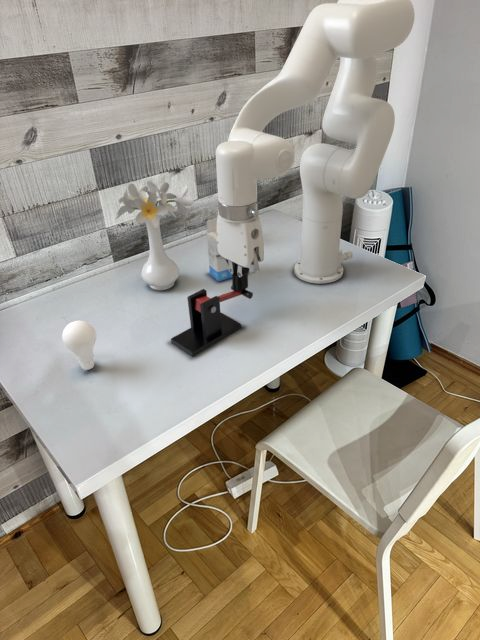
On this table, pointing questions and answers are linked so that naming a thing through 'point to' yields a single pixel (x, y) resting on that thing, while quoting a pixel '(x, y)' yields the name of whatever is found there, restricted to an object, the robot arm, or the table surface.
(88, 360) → the lightbulb
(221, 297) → the red lever handle
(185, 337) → the black lever base
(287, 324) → the table surface
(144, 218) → the flower vase
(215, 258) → the ink box
